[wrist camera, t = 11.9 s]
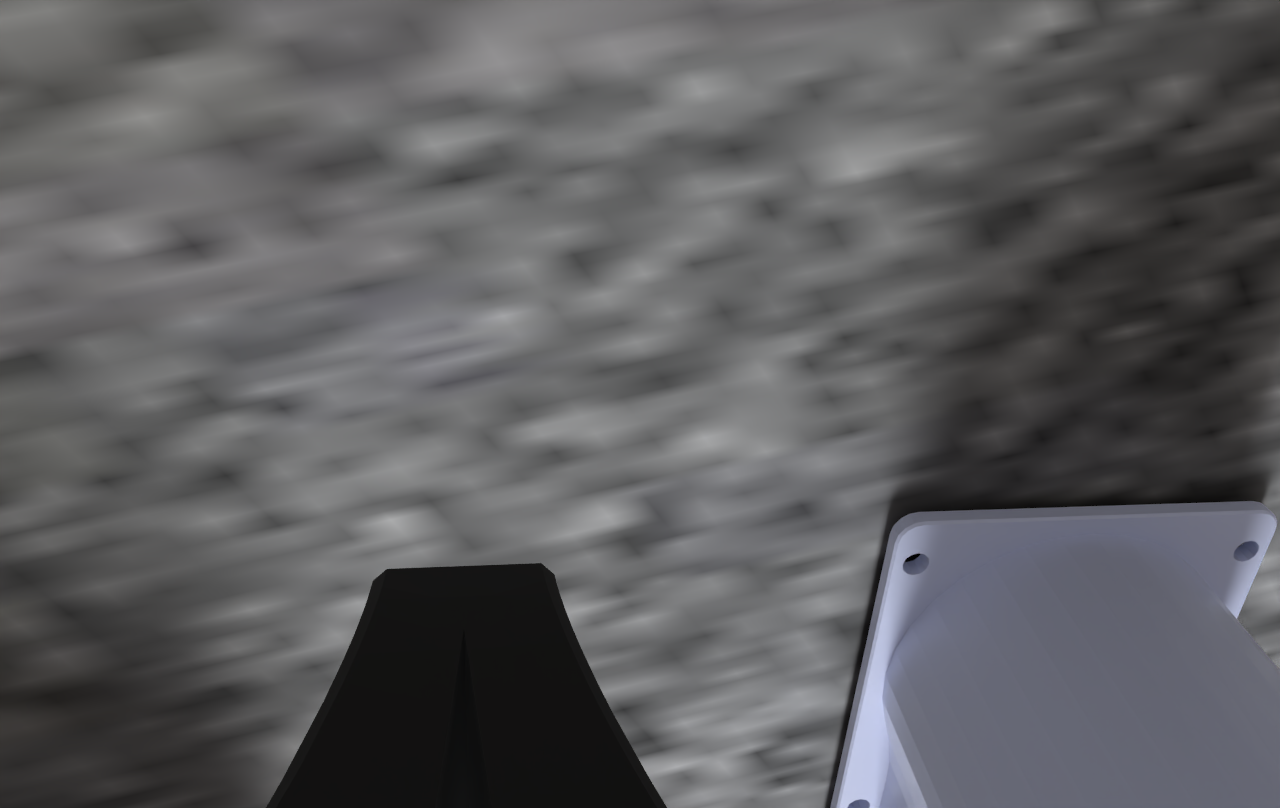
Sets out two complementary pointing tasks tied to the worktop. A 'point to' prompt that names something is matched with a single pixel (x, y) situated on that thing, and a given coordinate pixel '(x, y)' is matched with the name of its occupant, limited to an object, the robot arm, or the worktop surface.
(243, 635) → the worktop surface
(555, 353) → the worktop surface
